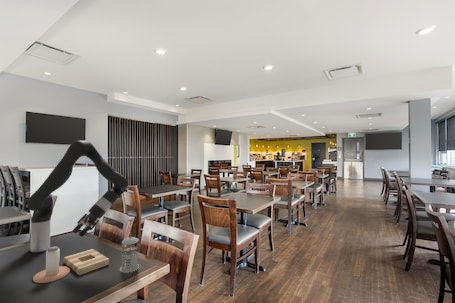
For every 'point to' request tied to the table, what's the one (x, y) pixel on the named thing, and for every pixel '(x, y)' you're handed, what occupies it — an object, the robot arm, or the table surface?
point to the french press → (129, 254)
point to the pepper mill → (52, 261)
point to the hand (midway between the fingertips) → (76, 234)
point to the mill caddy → (86, 261)
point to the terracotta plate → (43, 278)
